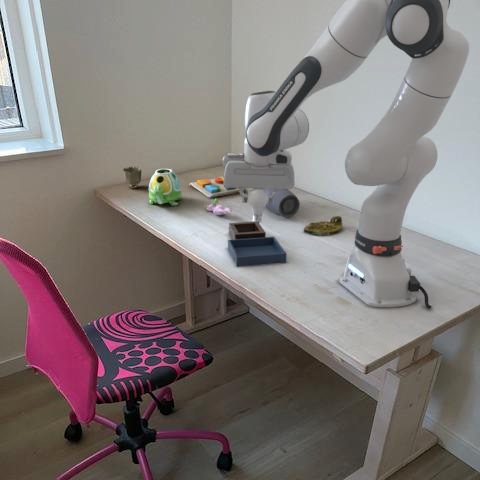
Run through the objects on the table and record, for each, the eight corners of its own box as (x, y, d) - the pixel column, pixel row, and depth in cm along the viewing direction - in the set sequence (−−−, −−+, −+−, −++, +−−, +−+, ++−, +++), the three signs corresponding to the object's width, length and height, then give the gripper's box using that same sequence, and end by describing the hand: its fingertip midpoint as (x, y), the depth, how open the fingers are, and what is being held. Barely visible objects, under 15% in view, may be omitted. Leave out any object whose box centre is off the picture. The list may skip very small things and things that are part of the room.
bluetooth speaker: (300, 219, 183) (302, 192, 178) (276, 222, 180) (278, 194, 175) (273, 199, 201) (275, 174, 196) (252, 202, 198) (253, 176, 193)
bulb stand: (265, 244, 164) (265, 232, 161) (234, 246, 162) (235, 234, 159) (257, 232, 172) (257, 221, 170) (228, 234, 170) (228, 223, 168)
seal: (311, 241, 169) (348, 233, 174) (313, 228, 166) (351, 221, 171) (297, 228, 175) (333, 221, 181) (299, 216, 172) (336, 209, 178)
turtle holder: (141, 210, 188) (139, 178, 181) (155, 195, 203) (152, 165, 196) (174, 212, 186) (172, 180, 180) (185, 197, 202) (184, 167, 195)
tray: (285, 262, 152) (286, 253, 150) (236, 266, 149) (236, 257, 147) (273, 245, 163) (274, 236, 161) (227, 248, 160) (227, 239, 158)
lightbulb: (271, 221, 151) (273, 185, 145) (261, 228, 147) (262, 191, 141) (253, 217, 154) (254, 181, 148) (242, 223, 149) (243, 187, 144)
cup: (124, 185, 212) (121, 166, 208) (141, 184, 214) (139, 165, 210) (126, 191, 206) (124, 171, 202) (144, 189, 208) (142, 170, 204)
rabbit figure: (201, 213, 190) (221, 219, 178) (200, 197, 187) (220, 202, 176) (216, 210, 193) (236, 216, 181) (214, 195, 190) (235, 200, 178)
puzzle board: (211, 199, 200) (211, 190, 198) (188, 186, 213) (187, 178, 211) (247, 192, 208) (247, 184, 206) (223, 180, 221) (223, 172, 219)
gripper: (221, 156, 137) (221, 205, 145) (297, 158, 137) (293, 207, 144) (223, 150, 143) (223, 198, 150) (295, 152, 142) (291, 199, 150)
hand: (258, 202), depth 147 cm, fingers closed on lightbulb, 6 cm apart
